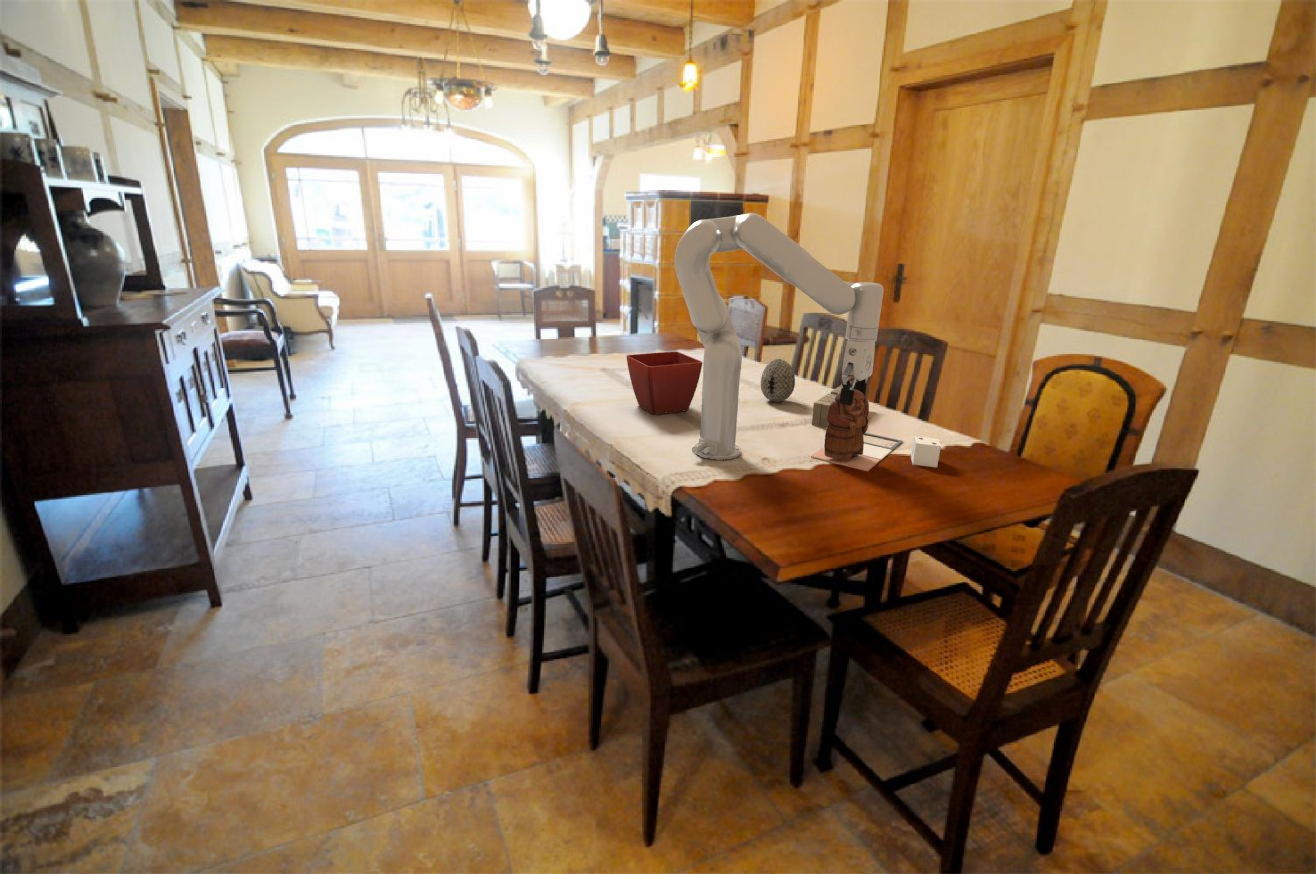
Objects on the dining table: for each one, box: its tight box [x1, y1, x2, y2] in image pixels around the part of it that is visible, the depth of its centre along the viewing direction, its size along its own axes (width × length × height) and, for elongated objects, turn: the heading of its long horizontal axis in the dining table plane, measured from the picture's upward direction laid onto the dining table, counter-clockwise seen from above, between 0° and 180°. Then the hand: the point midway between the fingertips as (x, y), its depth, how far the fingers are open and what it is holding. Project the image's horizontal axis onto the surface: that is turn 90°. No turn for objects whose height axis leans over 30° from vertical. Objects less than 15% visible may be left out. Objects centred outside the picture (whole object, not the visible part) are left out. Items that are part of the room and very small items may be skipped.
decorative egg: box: [760, 358, 796, 403], centre depth 218 cm, size 12×12×15 cm
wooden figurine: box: [823, 389, 870, 460], centre depth 165 cm, size 12×6×18 cm, turn 124°
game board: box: [810, 432, 904, 472], centre depth 176 cm, size 29×15×1 cm, turn 143°
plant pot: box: [626, 351, 703, 415], centre depth 206 cm, size 19×19×17 cm
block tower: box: [811, 383, 842, 429], centre depth 205 cm, size 8×8×29 cm
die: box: [910, 435, 942, 468], centre depth 167 cm, size 6×6×6 cm
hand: (852, 400), depth 163 cm, fingers closed on wooden figurine, 8 cm apart
